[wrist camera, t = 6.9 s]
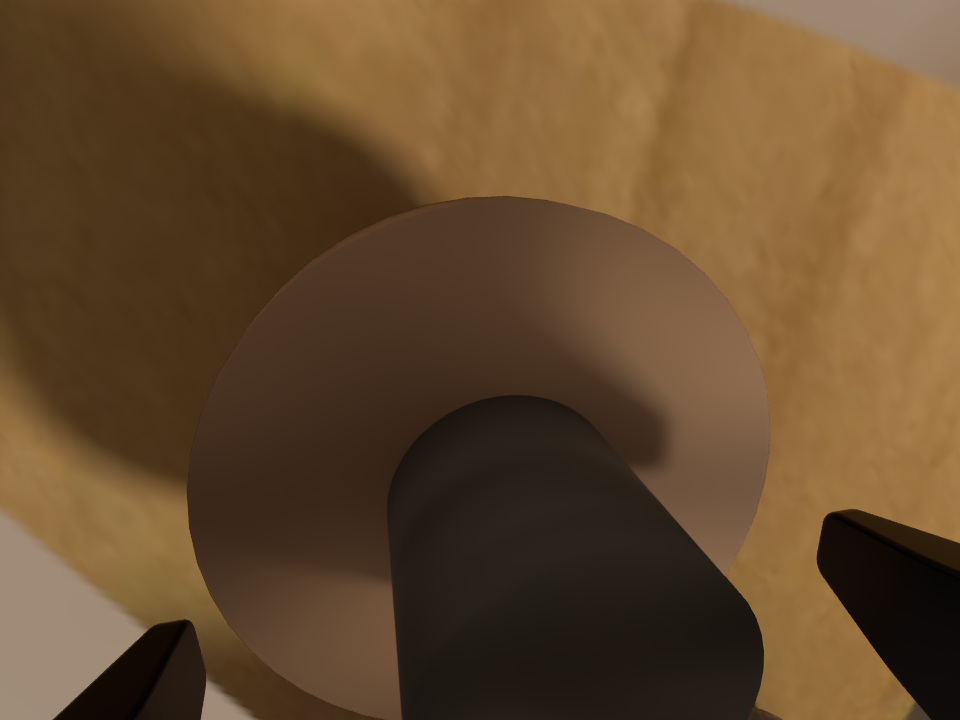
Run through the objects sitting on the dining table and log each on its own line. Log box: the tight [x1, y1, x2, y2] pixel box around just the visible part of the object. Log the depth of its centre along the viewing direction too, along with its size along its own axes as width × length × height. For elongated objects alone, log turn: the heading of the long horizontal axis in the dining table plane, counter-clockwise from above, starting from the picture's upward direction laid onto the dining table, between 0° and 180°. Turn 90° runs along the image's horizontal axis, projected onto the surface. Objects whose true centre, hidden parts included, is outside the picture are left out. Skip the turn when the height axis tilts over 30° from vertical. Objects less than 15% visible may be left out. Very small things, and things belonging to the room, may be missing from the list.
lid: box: [187, 196, 770, 720], centre depth 8 cm, size 10×10×5 cm
